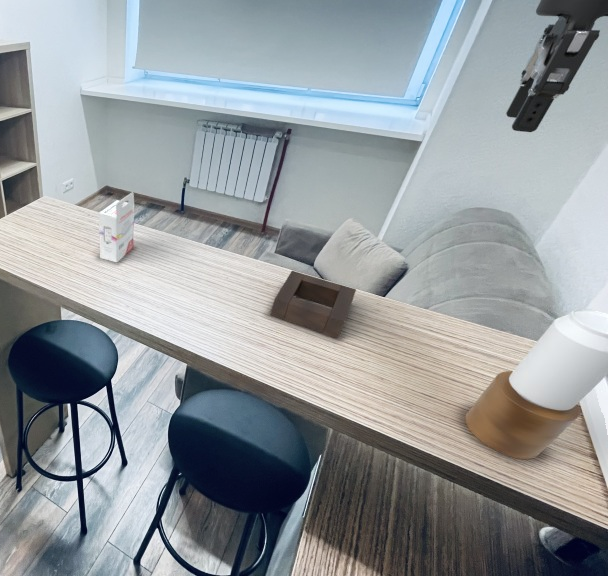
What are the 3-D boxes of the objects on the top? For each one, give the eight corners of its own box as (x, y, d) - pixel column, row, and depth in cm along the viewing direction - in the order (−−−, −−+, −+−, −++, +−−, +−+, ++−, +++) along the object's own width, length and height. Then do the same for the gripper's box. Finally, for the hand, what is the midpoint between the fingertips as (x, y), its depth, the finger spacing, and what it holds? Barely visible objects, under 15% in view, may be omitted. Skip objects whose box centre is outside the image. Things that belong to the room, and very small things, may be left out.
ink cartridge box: (116, 243, 103) (116, 187, 94) (133, 247, 100) (136, 190, 92) (98, 258, 97) (97, 199, 88) (116, 263, 94) (117, 204, 86)
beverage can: (559, 423, 48) (634, 349, 41) (496, 388, 53) (554, 316, 46) (578, 401, 51) (653, 327, 44) (517, 369, 55) (575, 298, 48)
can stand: (349, 305, 80) (356, 289, 78) (337, 338, 72) (345, 321, 70) (287, 286, 86) (291, 270, 84) (270, 315, 78) (274, 298, 76)
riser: (546, 436, 56) (586, 398, 51) (531, 471, 52) (573, 432, 47) (475, 400, 61) (505, 362, 56) (456, 429, 57) (487, 390, 52)
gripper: (688, -46, 36) (568, 141, 45) (640, -38, 45) (550, 116, 55) (571, -41, 40) (483, 132, 49) (549, -34, 49) (479, 110, 58)
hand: (518, 123), depth 52 cm, fingers open, 8 cm apart
